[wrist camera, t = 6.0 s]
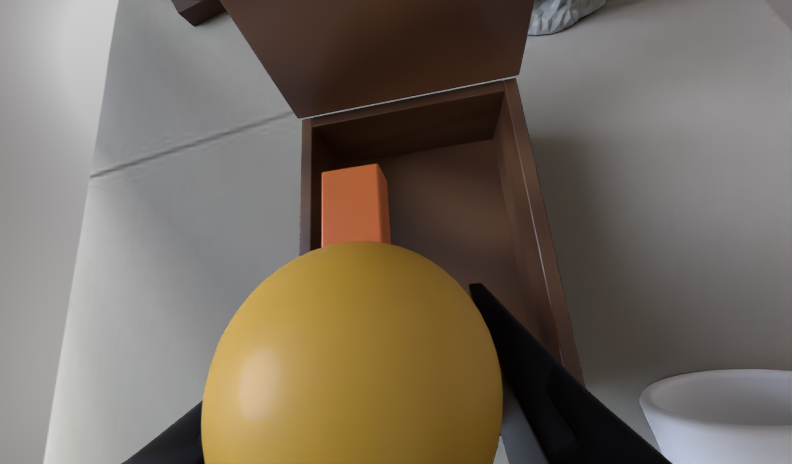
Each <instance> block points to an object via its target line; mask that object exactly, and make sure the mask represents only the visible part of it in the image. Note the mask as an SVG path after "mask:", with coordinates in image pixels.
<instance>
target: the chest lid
mask: <svg viewBox="0 0 792 464" xmlns="http://www.w3.org/2000/svg"><path fill="white" fill-rule="evenodd" d="M220 1H221V3H222V4H223V6H224V7H225V9H226V10H227V12H228V13H229V15H230V17H231V18H232V20H233V21H234V23H235V24H236V26H237V27H238V29H239V30H240V32H241V33H242V35H243V36H244V38H245V39H246V41H247V42H248V44H249V45H250V47H251V48H252V50H253V51H254V53H255V54H256V56H257V57H258V59H259V60H260V62H261V63H262V65H263V66H264V68H265V69H266V71H267V72H268V74H269V75H270V77H271V79H272V80H273V82H274V83H275V85H276V86H277V88H278V89H279V91H280V92H281V94H282V95H283V97H284V98H285V100H286V101H287V103H288V104H289V106H290V107H291V109H292V110H293V112H294V113H295V115H296V116H297V118H304V117H309V116H315V115H320V114H325V113H330V112H335V111H340V110H345V109H350V108H355V107H360V106H365V105H370V104H375V103H380V102H385V101H390V100H395V99H400V98H405V97H410V96H415V95H421V94H426V93H431V92H436V91H441V90H446V89H451V88H456V87H461V86H466V85H471V84H476V83H481V82H486V81H491V80H496V79H501V78H506V77H511V76H516V75H519V72H520V68H521V63H522V58H523V53H524V49H525V44H526V39H527V35H528V30H529V25H530V20H531V16H532V11H533V6H534V1H535V0H220Z"/></svg>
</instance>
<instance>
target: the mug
mask: <svg viewBox="0 0 792 464" xmlns="http://www.w3.org/2000/svg"><path fill="white" fill-rule="evenodd" d="M639 401H640V405H641V407H642V410H643V412H644V414H645V416H646V418H647V421H648V423H649V425H650V427H651V429H652V432H653V434H654V436H655V438H656V441H657V443H658V445H659V447H660V449H661V452H662V454H663V456H664V457H665V458H666V459H668V460H669V461H670V462H671V463H672V464H792V371H782V370H764V369H729V370H713V371H702V372H694V373H688V374H682V375H677V376H673V377H669V378H666V379H663V380H660V381H657V382H655V383H653V384H651V385H649V386H648V387H646V388H645V389H644V390H643V391H642V393H641V394H640V398H639Z"/></svg>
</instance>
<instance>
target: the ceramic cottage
mask: <svg viewBox="0 0 792 464" xmlns="http://www.w3.org/2000/svg"><path fill="white" fill-rule="evenodd" d="M605 1H606V0H535V1H534V6H533V11H532V16H531V20H530V25H529V30H528V34H529V35H542V34H552V33H556V32H558V31H561V30H562V29H564V27H566V28H568V27H569V26H570V25H573V24H574V22H577V20H578V19H579V18H581V17H583V16H585V15H587V14H588V13H589V14H591V13H592V11H595V10H596V9H597V10H598V9H599V8H600V7H601V6H603V5H605Z"/></svg>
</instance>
